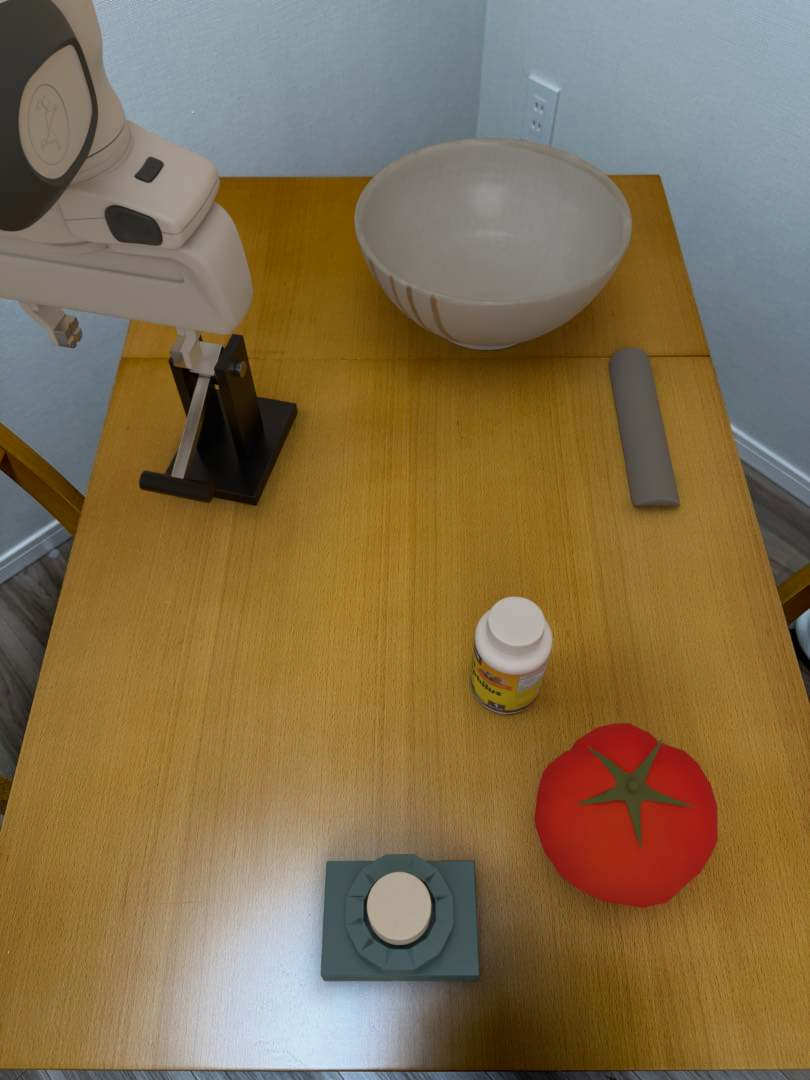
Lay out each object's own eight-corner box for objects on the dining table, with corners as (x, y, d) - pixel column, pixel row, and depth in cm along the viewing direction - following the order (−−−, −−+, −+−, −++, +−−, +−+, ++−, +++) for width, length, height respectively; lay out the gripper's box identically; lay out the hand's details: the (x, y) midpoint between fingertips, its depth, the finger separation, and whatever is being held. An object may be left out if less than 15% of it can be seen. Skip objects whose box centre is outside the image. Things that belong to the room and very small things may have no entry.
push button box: (323, 981, 55) (317, 971, 52) (329, 869, 59) (323, 853, 56) (477, 980, 55) (481, 970, 52) (473, 868, 59) (476, 852, 56)
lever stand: (256, 506, 78) (230, 407, 67) (164, 488, 79) (125, 388, 69) (298, 412, 85) (280, 309, 74) (213, 397, 86) (184, 293, 75)
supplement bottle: (456, 671, 68) (461, 605, 60) (516, 641, 69) (529, 573, 61) (492, 729, 65) (503, 669, 57) (554, 697, 67) (573, 634, 58)
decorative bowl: (349, 396, 86) (339, 299, 76) (372, 233, 101) (366, 134, 91) (620, 405, 84) (646, 307, 74) (601, 238, 100) (620, 138, 90)
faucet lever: (212, 506, 72) (203, 499, 69) (147, 493, 73) (134, 486, 70) (251, 359, 74) (243, 348, 71) (187, 348, 75) (176, 337, 72)
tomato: (678, 756, 64) (718, 697, 55) (710, 921, 57) (761, 883, 49) (518, 757, 64) (533, 699, 55) (531, 922, 57) (550, 885, 49)
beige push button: (367, 945, 53) (366, 940, 52) (369, 878, 56) (367, 871, 54) (431, 945, 53) (431, 940, 52) (430, 878, 56) (430, 871, 54)
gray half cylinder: (649, 360, 88) (653, 347, 86) (681, 512, 77) (686, 500, 75) (607, 360, 88) (610, 347, 87) (633, 512, 77) (637, 500, 75)
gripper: (-121, 182, 51) (-23, 358, 62) (202, 229, 47) (243, 406, 59) (-62, 126, 54) (21, 302, 65) (242, 167, 51) (274, 344, 62)
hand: (128, 352), depth 62 cm, fingers open, 8 cm apart
